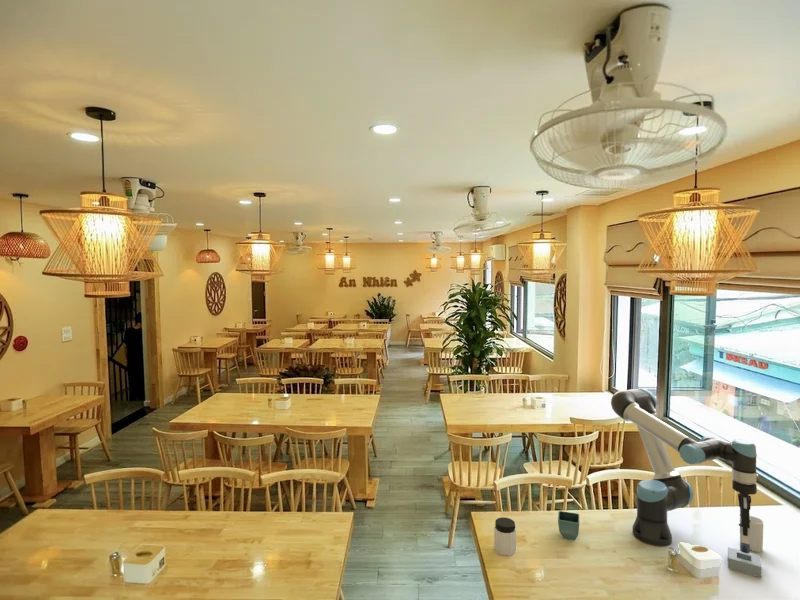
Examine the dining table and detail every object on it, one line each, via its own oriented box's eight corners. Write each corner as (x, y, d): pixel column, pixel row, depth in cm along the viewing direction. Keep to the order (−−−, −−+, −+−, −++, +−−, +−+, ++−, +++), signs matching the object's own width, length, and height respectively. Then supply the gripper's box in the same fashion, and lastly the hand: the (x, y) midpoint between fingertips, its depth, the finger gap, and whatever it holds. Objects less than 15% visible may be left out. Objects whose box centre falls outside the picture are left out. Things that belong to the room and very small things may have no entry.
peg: (740, 551, 172) (740, 521, 172) (739, 548, 174) (739, 518, 174) (750, 554, 170) (749, 523, 170) (749, 550, 173) (749, 520, 173)
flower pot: (557, 539, 193) (557, 519, 192) (558, 529, 201) (558, 510, 201) (579, 544, 189) (579, 523, 189) (579, 533, 197) (579, 513, 197)
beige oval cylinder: (767, 553, 182) (767, 524, 182) (749, 551, 183) (749, 523, 182) (751, 539, 192) (751, 512, 191) (734, 538, 193) (734, 511, 192)
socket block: (728, 568, 172) (728, 558, 172) (727, 556, 179) (727, 547, 179) (761, 577, 166) (761, 567, 166) (759, 565, 173) (759, 555, 173)
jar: (519, 554, 182) (519, 525, 182) (503, 558, 179) (502, 529, 179) (507, 542, 191) (507, 515, 190) (491, 546, 188) (491, 518, 188)
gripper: (758, 490, 163) (758, 553, 164) (755, 476, 176) (755, 534, 177) (732, 485, 168) (733, 547, 168) (731, 472, 181) (732, 529, 181)
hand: (744, 540), depth 172 cm, fingers closed on peg, 3 cm apart
